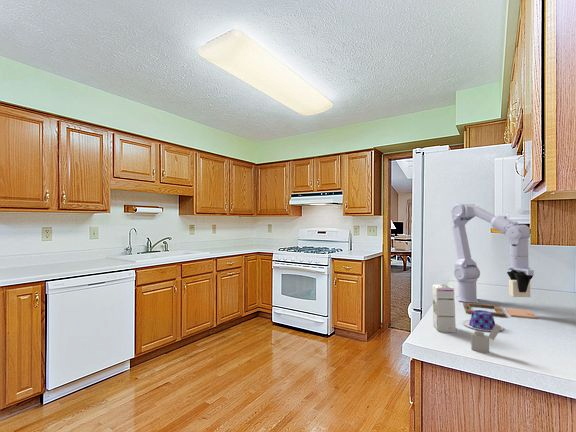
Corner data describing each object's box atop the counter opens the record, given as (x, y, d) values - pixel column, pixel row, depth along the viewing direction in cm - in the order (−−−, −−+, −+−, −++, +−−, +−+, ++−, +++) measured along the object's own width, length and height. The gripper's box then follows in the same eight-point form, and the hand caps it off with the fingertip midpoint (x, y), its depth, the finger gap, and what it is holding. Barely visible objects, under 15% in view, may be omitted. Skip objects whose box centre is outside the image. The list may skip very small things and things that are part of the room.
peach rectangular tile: (505, 309, 128) (505, 308, 128) (529, 311, 125) (529, 310, 125) (511, 316, 119) (511, 314, 119) (537, 319, 116) (537, 317, 116)
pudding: (454, 323, 112) (454, 308, 112) (480, 320, 116) (480, 305, 116) (484, 335, 101) (484, 318, 101) (512, 330, 105) (512, 314, 105)
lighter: (471, 350, 89) (470, 321, 89) (472, 347, 90) (471, 319, 90) (501, 355, 85) (501, 325, 85) (502, 353, 86) (501, 324, 86)
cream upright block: (509, 295, 124) (508, 279, 124) (525, 295, 123) (525, 280, 123) (513, 296, 121) (512, 281, 121) (530, 297, 120) (530, 281, 120)
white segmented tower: (456, 332, 103) (455, 287, 103) (436, 331, 104) (436, 287, 104) (451, 326, 108) (450, 284, 109) (432, 325, 110) (431, 283, 110)
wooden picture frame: (463, 304, 136) (462, 300, 136) (498, 307, 131) (498, 303, 131) (466, 313, 124) (466, 309, 124) (505, 317, 118) (505, 312, 118)
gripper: (498, 253, 130) (499, 286, 130) (518, 257, 116) (519, 295, 116) (517, 254, 129) (517, 287, 129) (539, 258, 115) (540, 295, 115)
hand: (519, 291), depth 122 cm, fingers closed on cream upright block, 3 cm apart
